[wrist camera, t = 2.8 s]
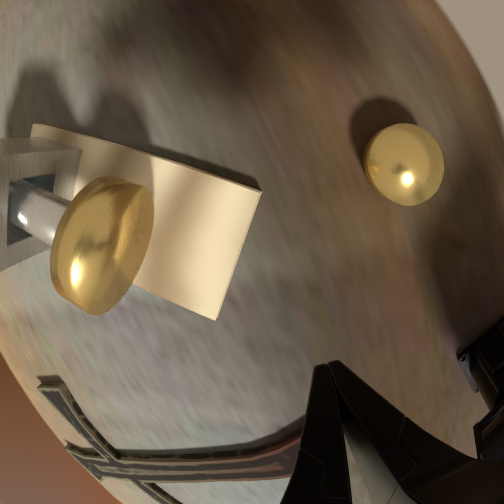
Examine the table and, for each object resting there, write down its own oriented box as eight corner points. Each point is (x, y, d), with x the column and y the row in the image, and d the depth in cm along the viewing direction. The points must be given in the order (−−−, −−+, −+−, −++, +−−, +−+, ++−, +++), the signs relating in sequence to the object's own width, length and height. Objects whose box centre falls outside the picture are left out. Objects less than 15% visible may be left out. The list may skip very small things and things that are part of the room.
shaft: (165, 179, 19) (86, 196, 11) (141, 283, 22) (75, 338, 14) (17, 132, 20) (-51, 138, 12) (8, 213, 23) (-54, 234, 15)
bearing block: (82, 148, 20) (-8, 157, 12) (68, 240, 23) (-10, 276, 15) (39, 136, 21) (-41, 143, 12) (28, 218, 23) (-44, 245, 15)
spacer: (442, 171, 18) (457, 173, 15) (392, 214, 19) (402, 221, 17) (399, 112, 17) (410, 107, 15) (347, 156, 19) (352, 156, 16)
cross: (369, 506, 28) (141, 513, 41) (369, 496, 30) (144, 507, 43) (249, 321, 22) (16, 392, 35) (253, 309, 23) (22, 386, 36)
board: (261, 191, 20) (259, 193, 19) (218, 314, 23) (215, 320, 23) (40, 123, 21) (32, 123, 20) (26, 221, 25) (19, 223, 24)
